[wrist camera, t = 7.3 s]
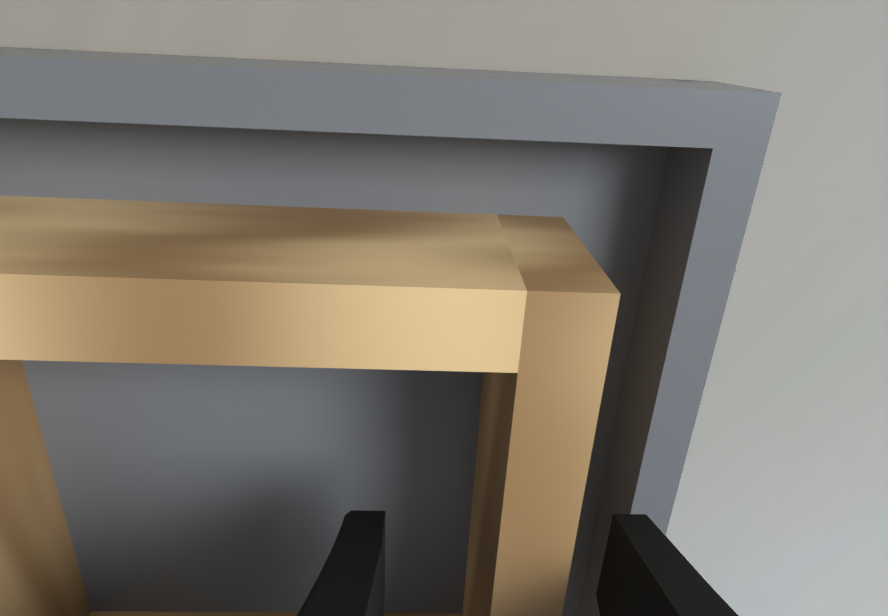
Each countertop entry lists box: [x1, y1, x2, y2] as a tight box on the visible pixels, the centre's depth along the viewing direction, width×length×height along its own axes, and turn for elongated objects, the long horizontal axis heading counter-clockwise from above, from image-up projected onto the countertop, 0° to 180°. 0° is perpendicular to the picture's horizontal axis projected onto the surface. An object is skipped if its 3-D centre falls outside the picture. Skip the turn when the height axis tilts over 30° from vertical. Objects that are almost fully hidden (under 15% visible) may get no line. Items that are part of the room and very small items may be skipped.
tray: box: [0, 47, 781, 616], centre depth 13 cm, size 16×16×2 cm
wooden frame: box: [0, 196, 621, 616], centre depth 11 cm, size 11×11×5 cm
